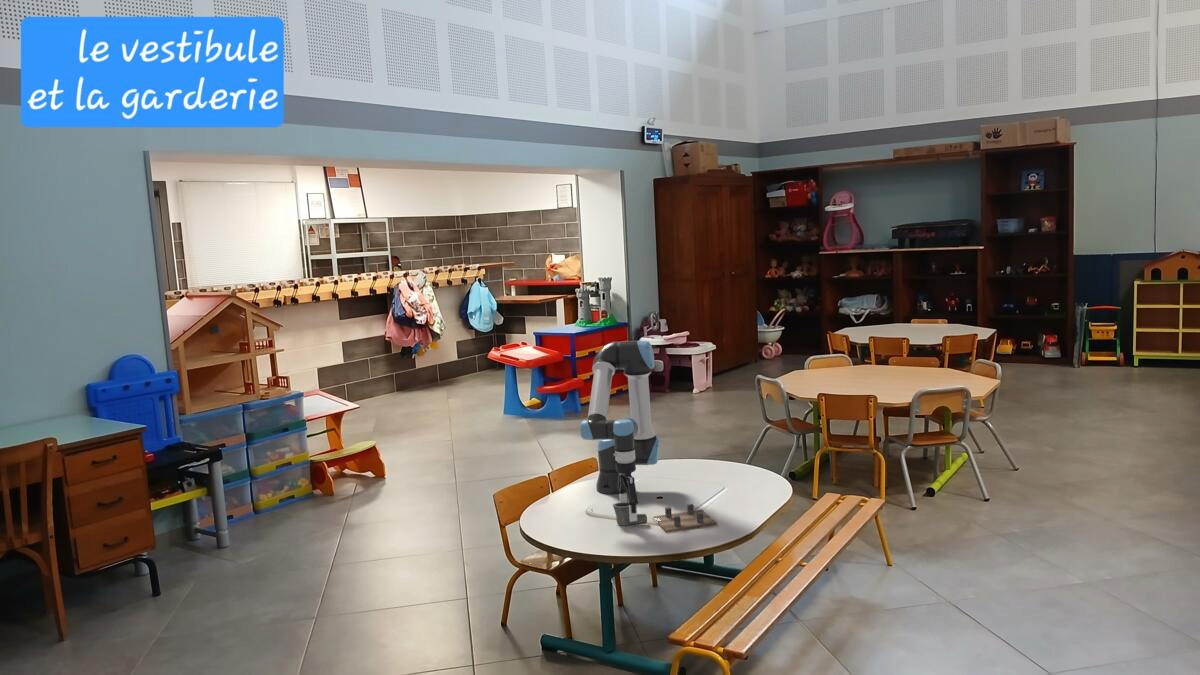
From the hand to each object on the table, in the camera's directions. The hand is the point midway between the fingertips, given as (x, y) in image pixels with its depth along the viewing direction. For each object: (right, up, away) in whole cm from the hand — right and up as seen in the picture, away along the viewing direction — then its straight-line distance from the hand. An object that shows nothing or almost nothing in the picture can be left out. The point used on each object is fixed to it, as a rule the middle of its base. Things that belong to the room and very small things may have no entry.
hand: (628, 515), depth 326 cm
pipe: (+1, -4, +1) cm, 4 cm away
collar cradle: (+21, -2, -1) cm, 21 cm away
